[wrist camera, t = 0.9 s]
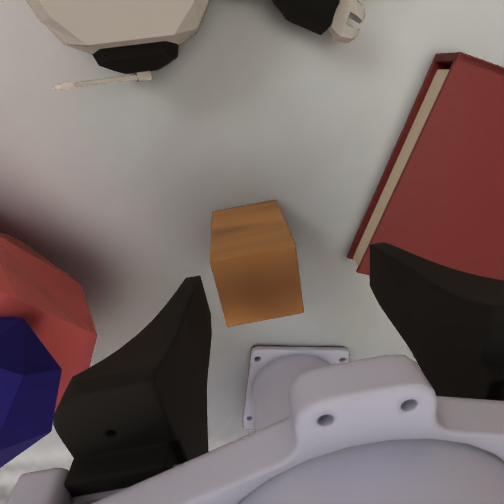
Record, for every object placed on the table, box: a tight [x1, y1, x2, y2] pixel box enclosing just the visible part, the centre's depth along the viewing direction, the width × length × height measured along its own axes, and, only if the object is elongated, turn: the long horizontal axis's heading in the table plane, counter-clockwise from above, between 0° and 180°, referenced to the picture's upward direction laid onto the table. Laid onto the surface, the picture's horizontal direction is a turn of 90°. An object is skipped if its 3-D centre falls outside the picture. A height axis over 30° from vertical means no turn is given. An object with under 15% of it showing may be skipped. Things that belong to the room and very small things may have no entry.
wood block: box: [210, 200, 304, 327], centre depth 21 cm, size 4×4×6 cm
